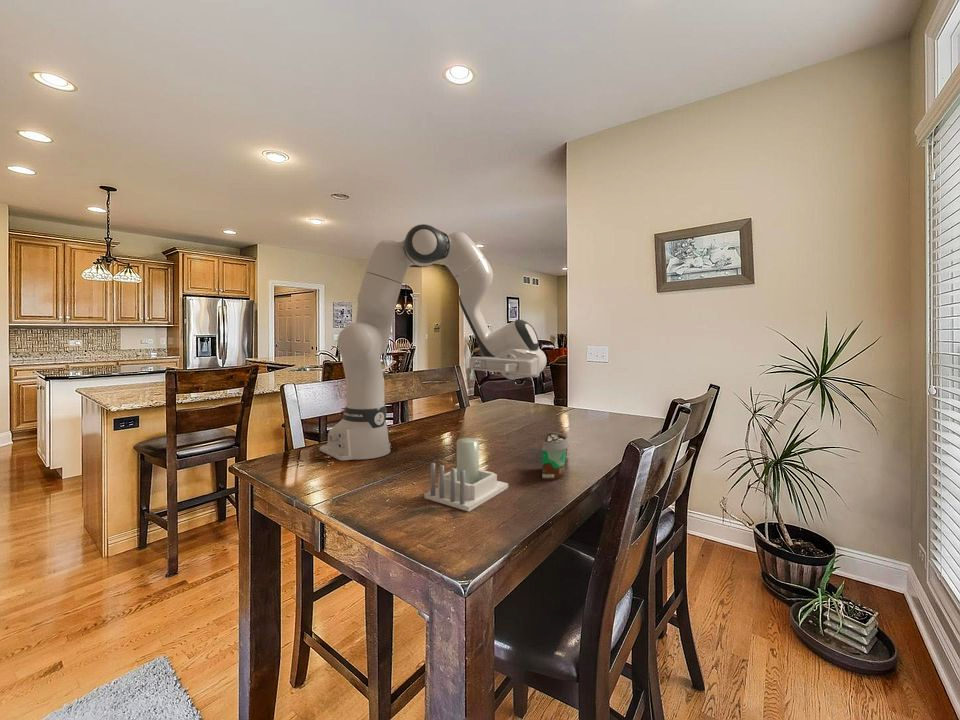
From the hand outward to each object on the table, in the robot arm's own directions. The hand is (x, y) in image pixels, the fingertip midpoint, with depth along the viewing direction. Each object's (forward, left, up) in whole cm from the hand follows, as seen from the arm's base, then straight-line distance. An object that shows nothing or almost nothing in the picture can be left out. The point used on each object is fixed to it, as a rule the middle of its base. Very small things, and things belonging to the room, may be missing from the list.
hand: (487, 366), depth 111 cm
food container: (+18, +5, -28) cm, 33 cm away
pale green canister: (+6, -18, -26) cm, 32 cm away
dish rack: (+6, -18, -27) cm, 33 cm away
